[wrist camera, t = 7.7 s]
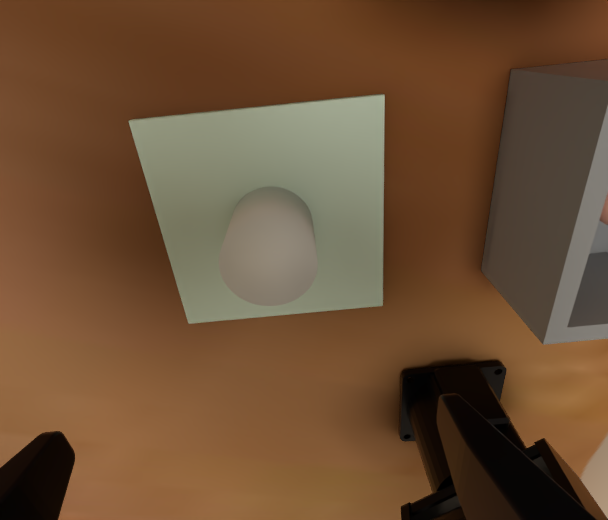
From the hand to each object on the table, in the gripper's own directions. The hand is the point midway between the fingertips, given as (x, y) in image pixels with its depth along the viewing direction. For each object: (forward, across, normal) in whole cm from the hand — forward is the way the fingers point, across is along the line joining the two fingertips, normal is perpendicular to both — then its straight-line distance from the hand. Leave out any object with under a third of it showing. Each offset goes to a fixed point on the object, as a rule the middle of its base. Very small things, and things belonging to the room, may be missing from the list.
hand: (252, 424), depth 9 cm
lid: (+12, 0, 0) cm, 13 cm away
